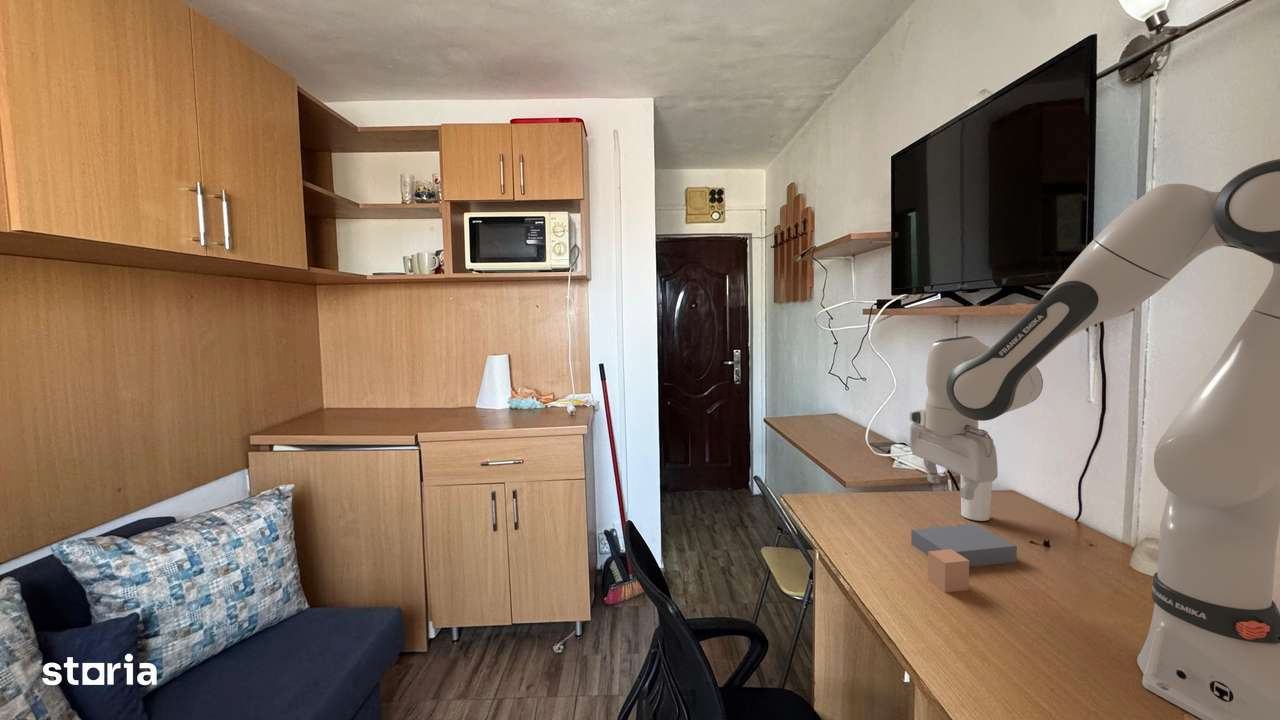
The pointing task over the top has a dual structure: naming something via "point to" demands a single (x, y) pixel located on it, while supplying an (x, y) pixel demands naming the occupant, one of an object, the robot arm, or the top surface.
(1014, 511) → the top surface
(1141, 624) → the top surface
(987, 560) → the grey flat slab
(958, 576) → the block
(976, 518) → the cup
